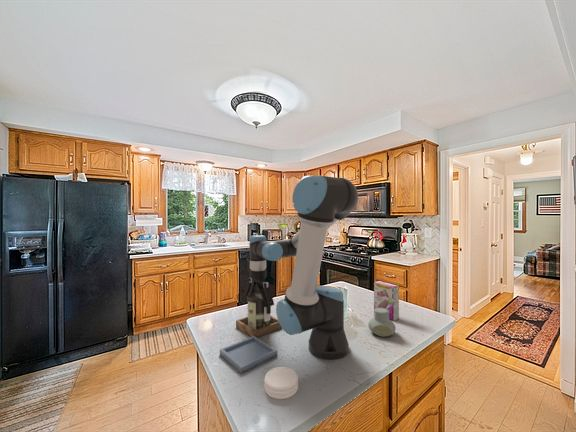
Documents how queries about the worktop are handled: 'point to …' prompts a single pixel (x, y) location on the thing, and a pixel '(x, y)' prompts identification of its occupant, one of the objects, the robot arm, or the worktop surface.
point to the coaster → (281, 383)
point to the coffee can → (256, 312)
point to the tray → (248, 354)
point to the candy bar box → (387, 298)
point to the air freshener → (381, 323)
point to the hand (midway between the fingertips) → (258, 316)
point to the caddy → (259, 332)
